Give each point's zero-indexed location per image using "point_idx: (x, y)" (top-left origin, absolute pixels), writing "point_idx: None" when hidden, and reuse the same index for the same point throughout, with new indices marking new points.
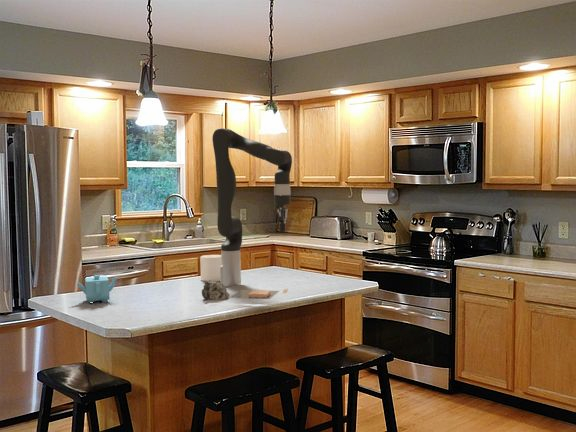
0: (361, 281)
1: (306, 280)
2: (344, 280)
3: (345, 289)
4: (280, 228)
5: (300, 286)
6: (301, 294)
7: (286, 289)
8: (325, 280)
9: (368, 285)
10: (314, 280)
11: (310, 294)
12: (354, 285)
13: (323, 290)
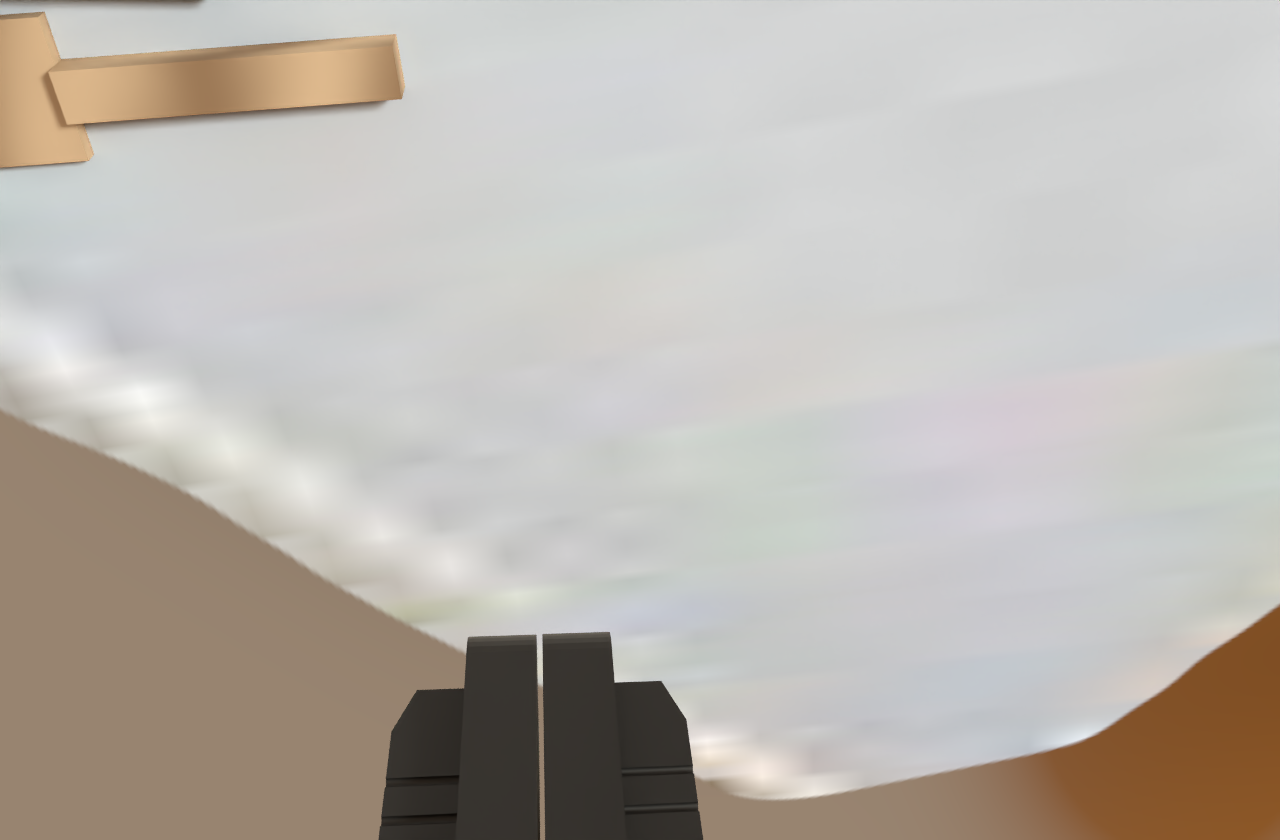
0: (1081, 710)
1: (1264, 187)
2: (1169, 579)
3: (631, 648)
4: (465, 744)
5: (791, 188)
6: (224, 298)
7: (342, 85)
8: (1210, 408)
9: (857, 774)
10: (1240, 287)
11: (259, 393)
12: (859, 686)
13: (542, 480)
